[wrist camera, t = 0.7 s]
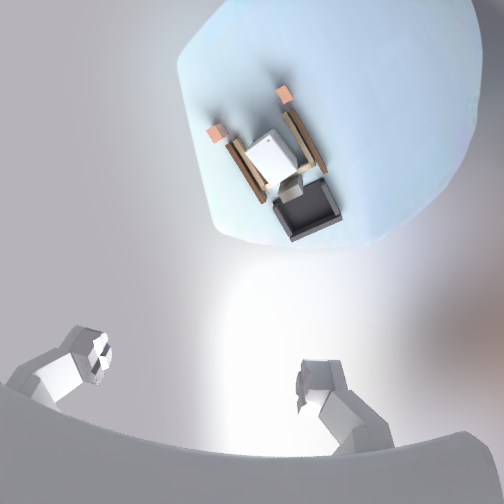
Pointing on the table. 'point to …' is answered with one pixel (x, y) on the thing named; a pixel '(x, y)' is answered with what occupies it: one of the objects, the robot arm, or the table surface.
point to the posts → (220, 132)
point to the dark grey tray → (308, 211)
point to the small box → (272, 157)
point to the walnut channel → (248, 173)
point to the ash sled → (291, 184)
